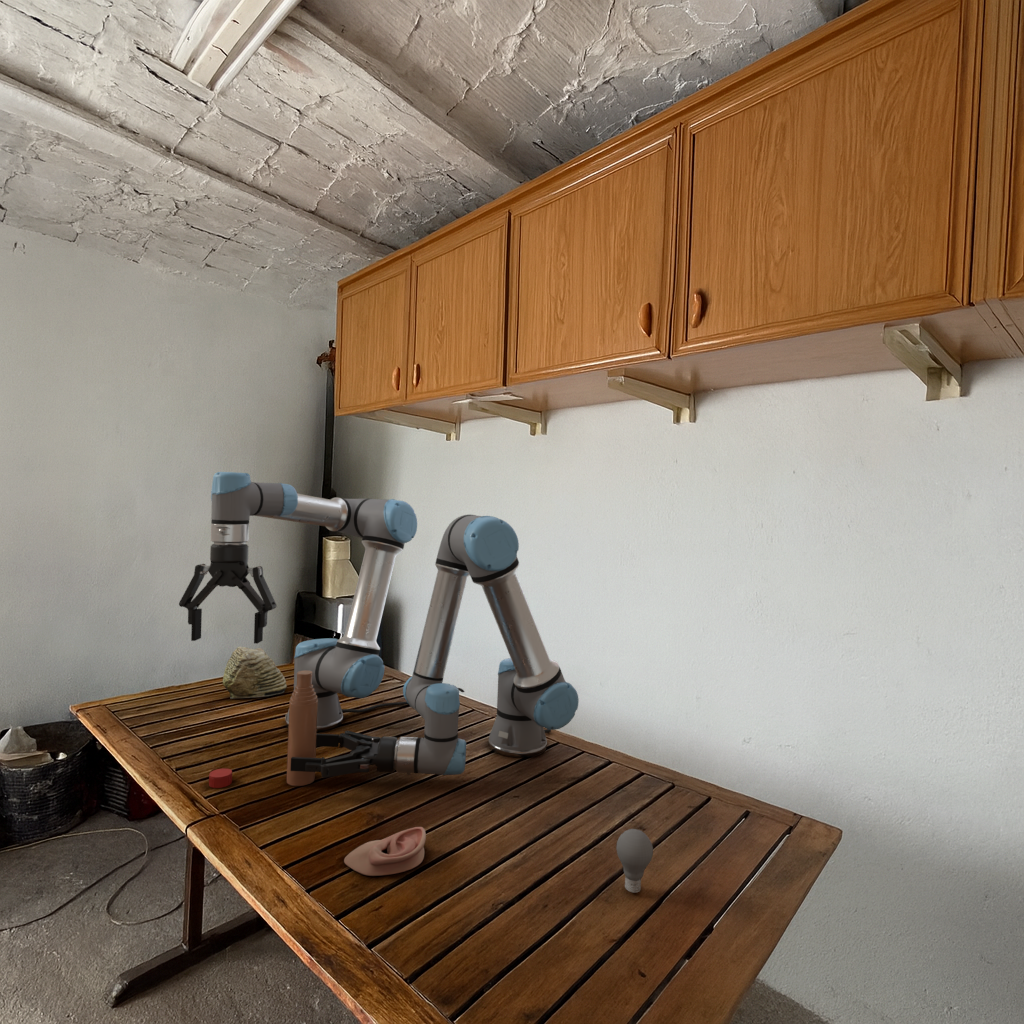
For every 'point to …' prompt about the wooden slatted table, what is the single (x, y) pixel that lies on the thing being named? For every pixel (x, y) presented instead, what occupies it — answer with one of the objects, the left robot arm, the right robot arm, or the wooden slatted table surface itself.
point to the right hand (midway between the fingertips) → (301, 751)
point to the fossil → (252, 674)
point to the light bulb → (634, 857)
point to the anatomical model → (389, 853)
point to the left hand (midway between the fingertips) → (227, 640)
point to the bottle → (302, 727)
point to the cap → (220, 778)
